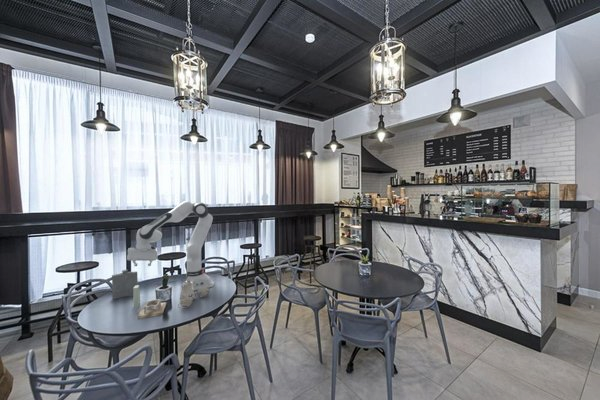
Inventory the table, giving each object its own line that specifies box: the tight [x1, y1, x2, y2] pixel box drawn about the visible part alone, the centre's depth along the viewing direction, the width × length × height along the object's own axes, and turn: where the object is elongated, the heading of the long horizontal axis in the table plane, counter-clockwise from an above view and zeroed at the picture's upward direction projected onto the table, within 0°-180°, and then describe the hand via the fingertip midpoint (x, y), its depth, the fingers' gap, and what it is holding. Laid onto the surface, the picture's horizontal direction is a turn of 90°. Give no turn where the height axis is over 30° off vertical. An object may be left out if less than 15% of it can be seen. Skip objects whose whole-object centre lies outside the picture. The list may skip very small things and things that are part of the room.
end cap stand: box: [137, 298, 167, 319], centre depth 163 cm, size 14×16×6 cm
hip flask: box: [111, 269, 139, 300], centre depth 188 cm, size 16×4×20 cm, turn 121°
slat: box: [132, 284, 141, 309], centre depth 170 cm, size 2×5×14 cm, turn 21°
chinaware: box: [177, 278, 210, 309], centre depth 177 cm, size 28×17×17 cm, turn 168°
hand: (142, 265), depth 182 cm, fingers open, 8 cm apart
